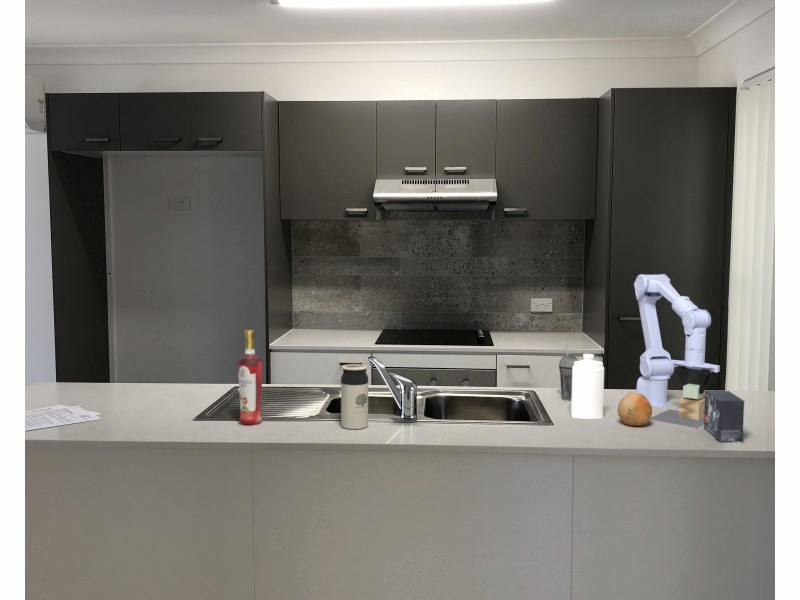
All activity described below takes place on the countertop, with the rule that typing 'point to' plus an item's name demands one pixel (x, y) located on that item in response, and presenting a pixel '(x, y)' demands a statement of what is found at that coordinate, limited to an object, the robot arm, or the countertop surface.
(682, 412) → the oak slab lower
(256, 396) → the liquor
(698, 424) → the mat
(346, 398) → the travel mug
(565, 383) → the beverage cup
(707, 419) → the small box
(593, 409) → the squeeze bottle
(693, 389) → the sage block
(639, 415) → the onion
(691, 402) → the oak slab upper
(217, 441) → the countertop surface
